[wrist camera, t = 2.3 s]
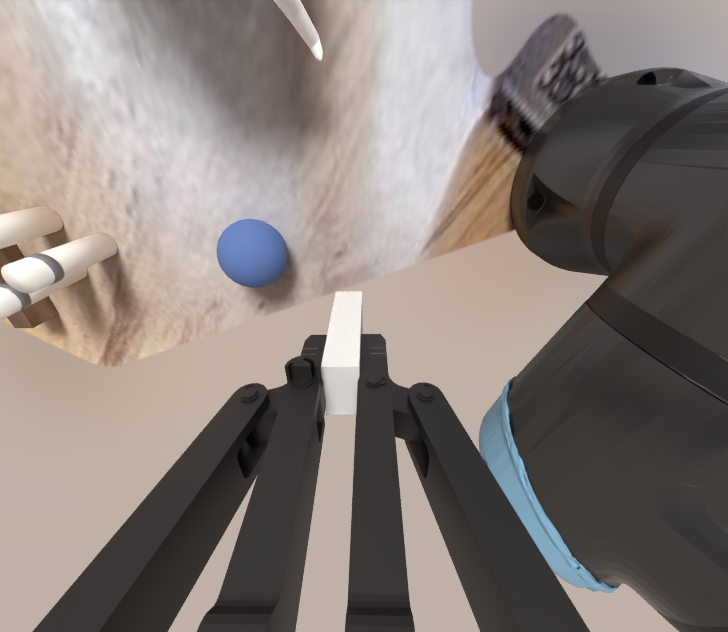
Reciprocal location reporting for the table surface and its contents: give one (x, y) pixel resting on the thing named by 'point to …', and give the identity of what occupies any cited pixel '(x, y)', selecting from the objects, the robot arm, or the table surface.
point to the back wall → (34, 312)
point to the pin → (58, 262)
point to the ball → (252, 253)
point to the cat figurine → (302, 24)
